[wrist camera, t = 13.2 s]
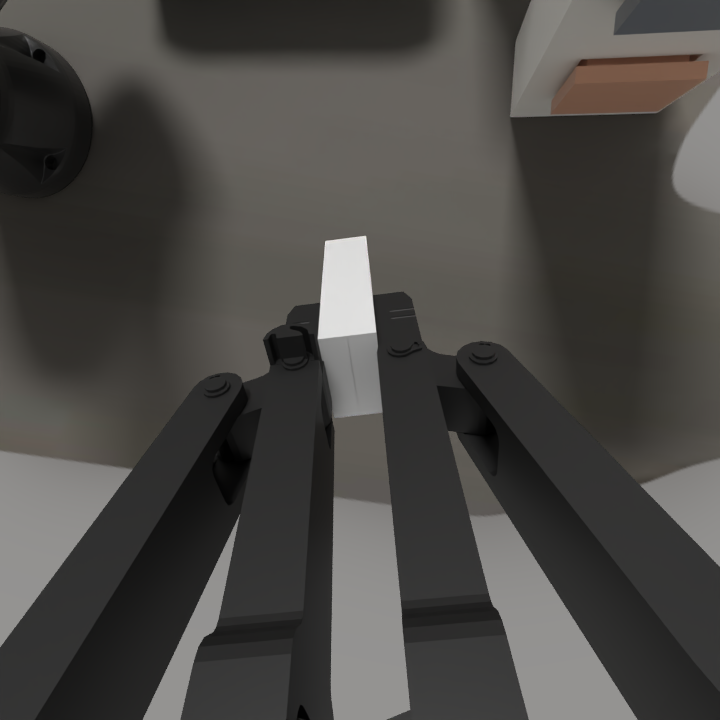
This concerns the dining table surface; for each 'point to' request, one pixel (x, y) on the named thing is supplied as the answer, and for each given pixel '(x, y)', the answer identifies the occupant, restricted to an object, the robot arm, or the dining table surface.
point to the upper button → (666, 16)
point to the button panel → (587, 49)
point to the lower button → (627, 84)
